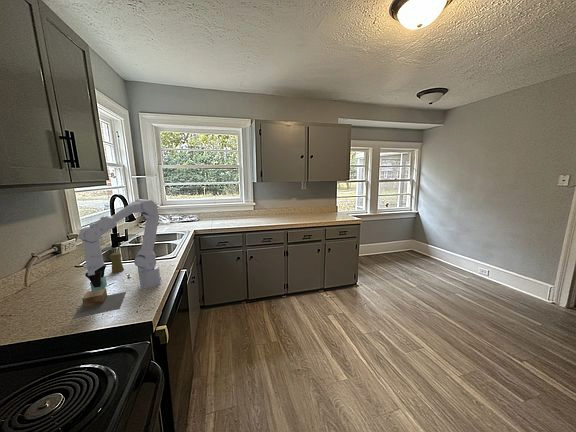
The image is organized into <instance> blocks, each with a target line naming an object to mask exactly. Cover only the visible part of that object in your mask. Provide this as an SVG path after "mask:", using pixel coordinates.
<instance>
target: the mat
mask: <svg viewBox="0 0 576 432" xmlns="http://www.w3.org/2000/svg"><path fill="white" fill-rule="evenodd" d="M126 294H127V291H123V292H119V293H114V294H113V293H112V294H107V298H106V299H105V301H104V303H102V304H97V305H92V306H87V307H84V306H83V303H82V304H81V305H80V307H79V308H78V310H77V311H76V312H75V314H74V315H73V317H72V318H71V319H72V320H75V319H80V318H85V317H88V316H89V317H90V316H93V315H97V314H102V313H107V312H111V311H117V310H120V309H121V307H122V304H123V302H124V299H125V296H126Z"/></svg>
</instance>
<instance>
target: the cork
mask: <svg viewBox="0 0 576 432" xmlns="http://www.w3.org/2000/svg"><path fill="white" fill-rule="evenodd" d="M121 258H122V254H121V253H120V252H114V253H111V254H110V255H109V259H110V260H111V273H112V274H119V272H120V273H122V272H125V271H124V270H125V268H124V266H123V263H122V259H121Z"/></svg>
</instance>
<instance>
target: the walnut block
mask: <svg viewBox="0 0 576 432" xmlns="http://www.w3.org/2000/svg"><path fill="white" fill-rule="evenodd" d="M107 295H108V292H107V288H106V287H105V289H102V290H97V291H91V290H88V291H86V292H85V294H84V295H83V297H82V298H81V300H82V301H81V302H82V304H83V306H84V307H87V306H92V305H97V304H102V303H104V301H105V299H106V298H107Z"/></svg>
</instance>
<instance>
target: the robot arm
mask: <svg viewBox="0 0 576 432" xmlns="http://www.w3.org/2000/svg"><path fill="white" fill-rule="evenodd" d="M135 213H137V214H138V213H140V214H142V216H143V217H144V218H146V219H145V226H144V231H143V235H142V242H141V248H140V250H139V251H138V252H137V254H136V256H135V258H134V261H133V264H134V266H135V267H137V272H138V273H137V274H138V280H139V286H138V290H142V289H147V288H152V287H159V286H161V281H162V276H161V272H160V267H159V266H156V265H157V260H156V253H155V251H154V249H155V248H154V247H155V242H156V237H157V230H158V226H159V219H160V214H159V211H158V205H157V204H156V202H154V201H153V200H152V199H142V198H138V199H137V198H136V199H135V200H134V201H131V202H129V204H128V205H126V206H124V207H123V208H122V209H120V210H119V211H117V212H116V213H114V214H113V215H111V216H109V215H106V216H101V217H100V219H99V220H97V221H95V222H94V223H90V224H89V226H86V227H83V228H81V229H80V231H79V232H78V235H77V237H78V238H79V239H80V240H81V243H82V249H83V255H84V260H85V264H86V265H83V266H82V268H83V269H86V270H87V272H85V273H84V276H85V277H86V278H87V279H88V280H89V281H90V282H91V283H92V285H93V286H94V288H96V287H100V286H101V277H105V271H106V267H107V264H106V263H105V262H104V258H103V252H102V247H101V243H100V239H101V237H102V236H103V235H104V234H106V233H107V232H109V231H110V230H112V229H114V228H115V227H116V226H117V224H118V222H119V221H120V222H121V220H124V219H125V218H127V217H128V216H130V215H132V214H135Z"/></svg>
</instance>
